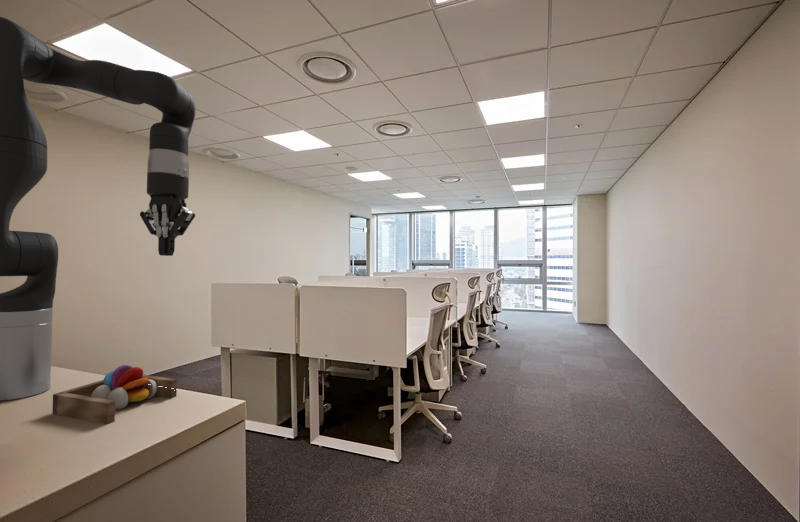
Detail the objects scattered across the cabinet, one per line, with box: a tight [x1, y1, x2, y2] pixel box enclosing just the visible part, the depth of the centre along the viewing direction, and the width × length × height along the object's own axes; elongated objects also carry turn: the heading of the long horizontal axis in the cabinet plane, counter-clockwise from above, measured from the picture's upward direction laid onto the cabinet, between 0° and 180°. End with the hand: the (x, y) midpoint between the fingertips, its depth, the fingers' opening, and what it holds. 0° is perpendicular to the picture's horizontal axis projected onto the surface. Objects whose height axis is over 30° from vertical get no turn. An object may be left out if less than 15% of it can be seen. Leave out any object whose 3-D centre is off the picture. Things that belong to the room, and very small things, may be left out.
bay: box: [51, 374, 178, 425], centre depth 69 cm, size 13×14×4 cm
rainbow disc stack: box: [91, 364, 158, 410], centre depth 71 cm, size 8×10×7 cm
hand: (166, 255), depth 77 cm, fingers closed
